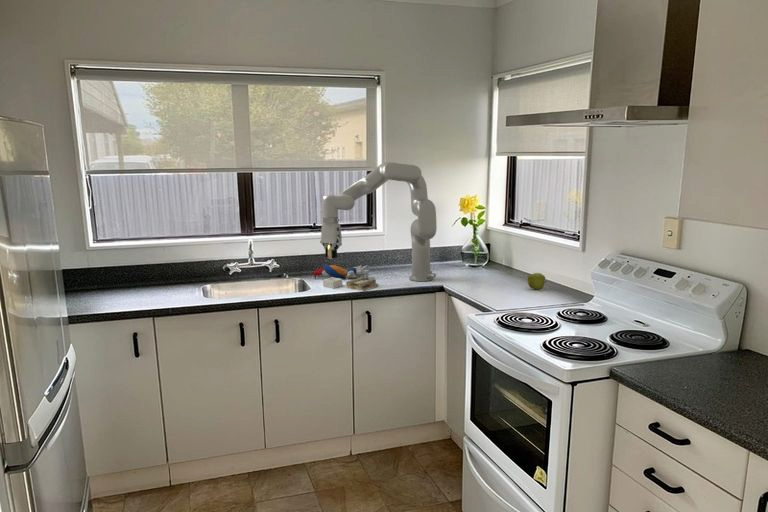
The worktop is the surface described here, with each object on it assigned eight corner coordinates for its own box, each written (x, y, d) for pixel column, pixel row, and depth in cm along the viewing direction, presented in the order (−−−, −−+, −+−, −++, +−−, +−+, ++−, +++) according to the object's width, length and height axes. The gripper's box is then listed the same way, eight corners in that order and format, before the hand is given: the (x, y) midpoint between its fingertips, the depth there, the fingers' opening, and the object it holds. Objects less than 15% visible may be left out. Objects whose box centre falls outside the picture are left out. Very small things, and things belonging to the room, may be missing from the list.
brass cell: (331, 259, 278) (331, 244, 277) (326, 258, 280) (325, 243, 279) (336, 258, 281) (336, 243, 280) (331, 257, 283) (330, 242, 282)
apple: (546, 291, 266) (547, 275, 265) (526, 290, 269) (527, 274, 267) (546, 288, 273) (547, 271, 272) (527, 287, 276) (528, 271, 274)
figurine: (309, 286, 291) (366, 284, 285) (307, 270, 290) (364, 268, 284) (323, 275, 317) (376, 273, 311) (322, 260, 316) (375, 258, 310)
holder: (342, 285, 284) (342, 279, 283) (333, 288, 278) (333, 281, 278) (332, 284, 288) (332, 277, 287) (323, 286, 283) (323, 279, 282)
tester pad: (368, 282, 282) (368, 281, 282) (360, 284, 277) (360, 283, 277) (361, 281, 285) (361, 280, 285) (353, 283, 280) (353, 282, 280)
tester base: (378, 285, 282) (378, 279, 282) (362, 290, 273) (362, 284, 272) (362, 283, 289) (361, 277, 288) (346, 287, 279) (346, 281, 279)
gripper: (348, 221, 275) (348, 258, 278) (323, 218, 285) (324, 254, 288) (338, 222, 269) (338, 260, 273) (313, 220, 279) (313, 256, 282)
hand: (331, 256), depth 280 cm, fingers closed on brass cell, 3 cm apart
